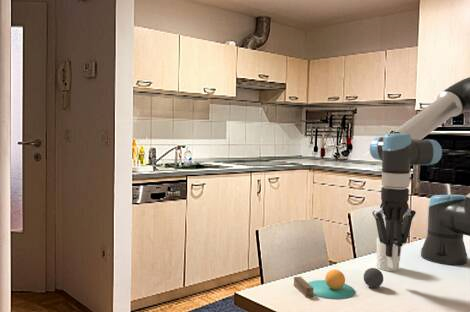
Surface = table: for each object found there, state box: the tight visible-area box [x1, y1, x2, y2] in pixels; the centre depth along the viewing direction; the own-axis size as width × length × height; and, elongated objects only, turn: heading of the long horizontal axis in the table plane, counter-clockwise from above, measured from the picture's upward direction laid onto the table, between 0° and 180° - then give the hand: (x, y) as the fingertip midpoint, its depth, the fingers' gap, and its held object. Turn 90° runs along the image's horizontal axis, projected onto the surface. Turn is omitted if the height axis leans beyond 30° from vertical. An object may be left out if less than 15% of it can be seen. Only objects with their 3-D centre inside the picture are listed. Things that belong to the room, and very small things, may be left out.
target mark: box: [307, 279, 356, 300], centre depth 128 cm, size 14×14×1 cm
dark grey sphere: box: [363, 267, 384, 289], centre depth 131 cm, size 6×6×6 cm
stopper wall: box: [293, 276, 314, 298], centre depth 126 cm, size 2×9×2 cm, turn 14°
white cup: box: [376, 235, 402, 272], centre depth 149 cm, size 8×8×10 cm
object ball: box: [324, 269, 346, 290], centre depth 128 cm, size 6×6×6 cm
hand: (392, 267), depth 133 cm, fingers closed
